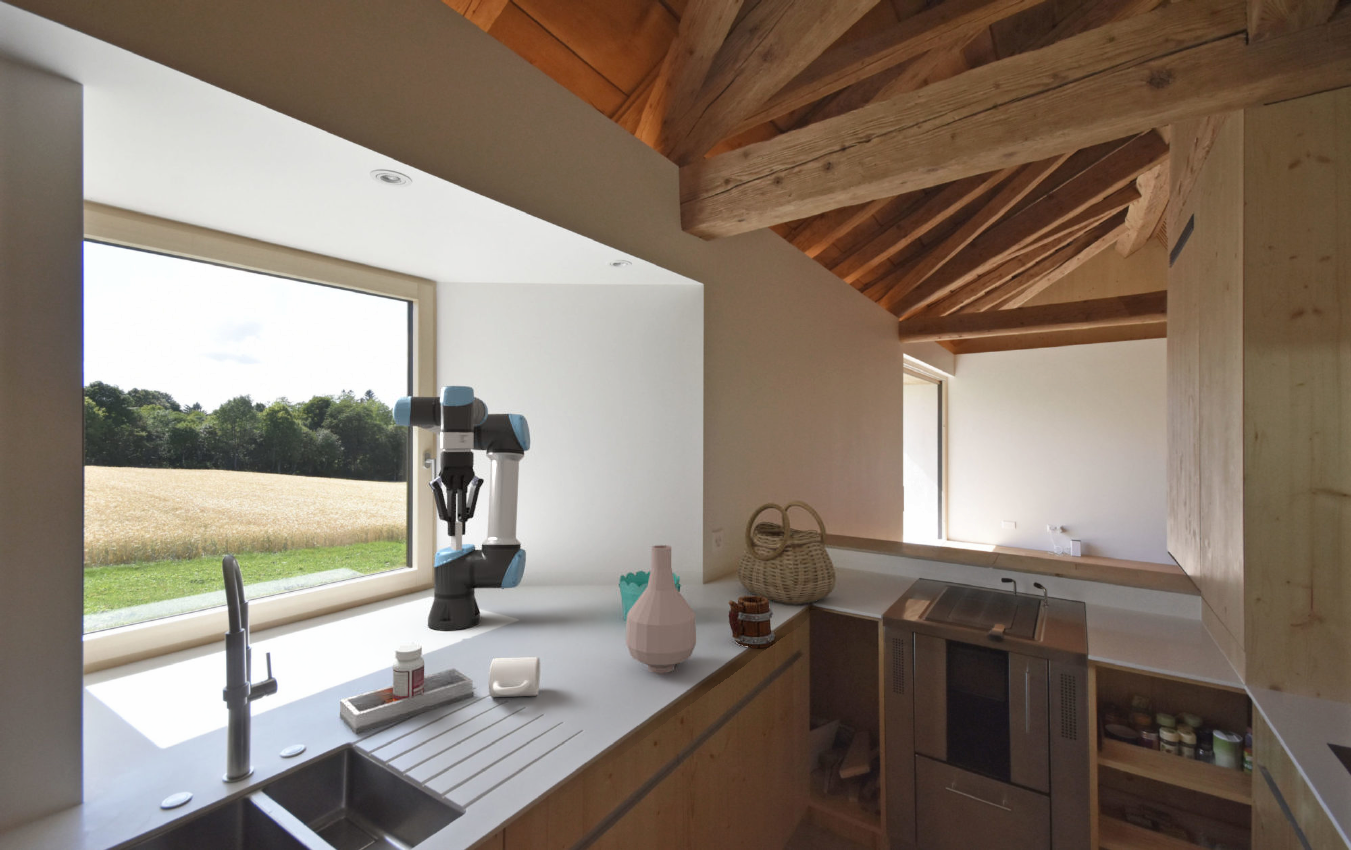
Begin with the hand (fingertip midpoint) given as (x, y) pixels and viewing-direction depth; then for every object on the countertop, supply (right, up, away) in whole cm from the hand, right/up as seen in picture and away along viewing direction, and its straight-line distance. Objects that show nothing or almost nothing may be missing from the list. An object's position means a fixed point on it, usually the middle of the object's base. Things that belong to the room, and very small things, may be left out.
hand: (456, 549), depth 146 cm
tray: (-4, -30, -16) cm, 34 cm away
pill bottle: (-5, -29, -16) cm, 34 cm away
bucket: (+44, -31, +47) cm, 72 cm away
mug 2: (+73, -31, +24) cm, 83 cm away
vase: (+49, -31, +6) cm, 58 cm away
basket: (+92, -32, +73) cm, 122 cm away
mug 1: (+17, -31, -12) cm, 37 cm away
